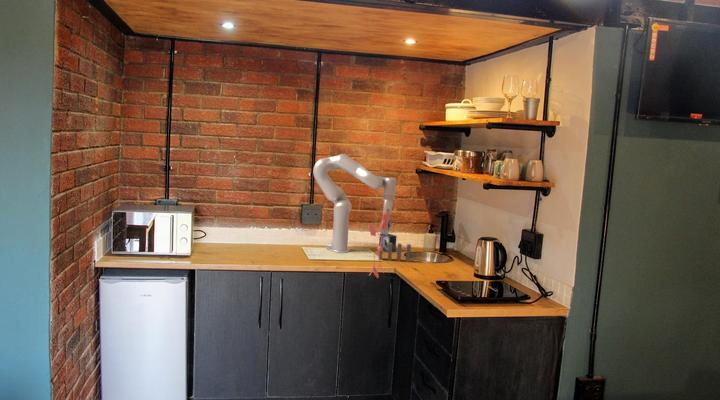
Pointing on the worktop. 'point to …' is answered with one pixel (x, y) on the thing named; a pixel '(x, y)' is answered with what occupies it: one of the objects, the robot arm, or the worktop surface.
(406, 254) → the domino
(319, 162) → the robot arm
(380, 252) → the domino
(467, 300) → the worktop surface
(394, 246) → the small box
